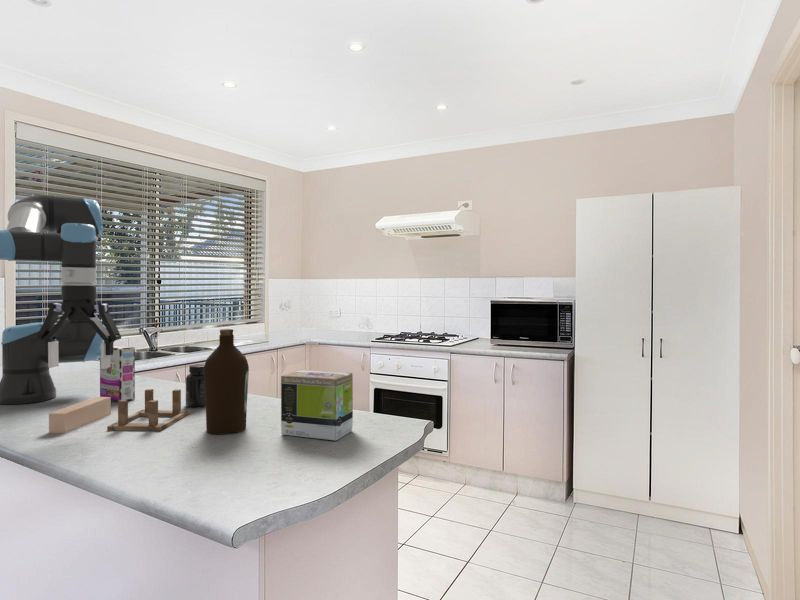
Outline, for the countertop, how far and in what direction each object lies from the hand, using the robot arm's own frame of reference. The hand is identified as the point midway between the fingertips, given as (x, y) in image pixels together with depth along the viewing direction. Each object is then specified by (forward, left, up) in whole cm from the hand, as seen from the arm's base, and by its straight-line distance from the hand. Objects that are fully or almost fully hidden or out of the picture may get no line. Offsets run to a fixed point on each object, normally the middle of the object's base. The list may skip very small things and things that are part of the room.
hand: (79, 367), depth 131 cm
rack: (-2, +17, -14) cm, 23 cm away
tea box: (+6, +62, -15) cm, 64 cm away
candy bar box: (-27, -6, -15) cm, 32 cm away
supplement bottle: (-20, +22, -15) cm, 33 cm away
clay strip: (0, 0, -15) cm, 15 cm away
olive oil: (+4, +39, -15) cm, 42 cm away
